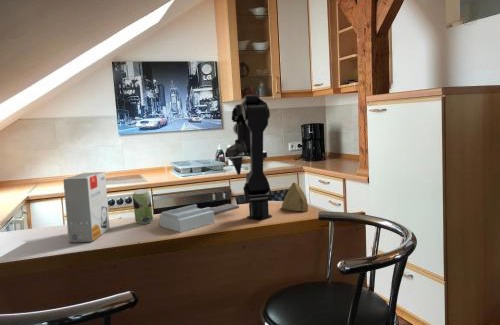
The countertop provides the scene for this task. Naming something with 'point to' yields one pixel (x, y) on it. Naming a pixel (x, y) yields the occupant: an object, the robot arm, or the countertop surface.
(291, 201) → the rock
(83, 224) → the hard drive box
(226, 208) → the cover plate
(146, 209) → the beverage can
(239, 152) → the robot arm
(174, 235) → the countertop surface
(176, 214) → the lidded box
